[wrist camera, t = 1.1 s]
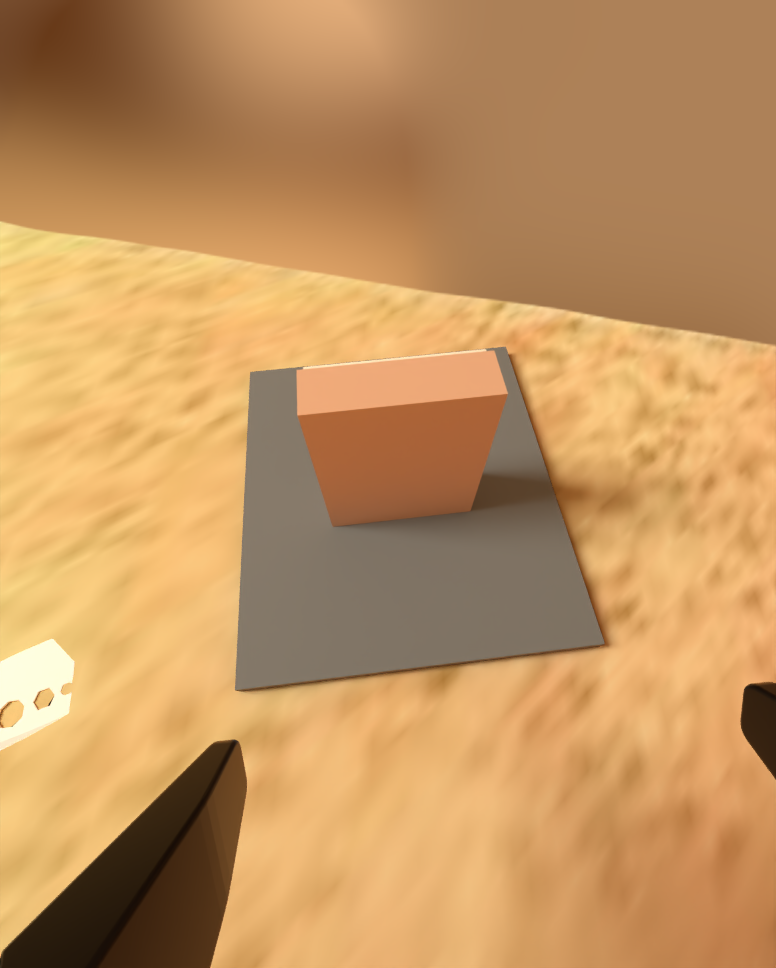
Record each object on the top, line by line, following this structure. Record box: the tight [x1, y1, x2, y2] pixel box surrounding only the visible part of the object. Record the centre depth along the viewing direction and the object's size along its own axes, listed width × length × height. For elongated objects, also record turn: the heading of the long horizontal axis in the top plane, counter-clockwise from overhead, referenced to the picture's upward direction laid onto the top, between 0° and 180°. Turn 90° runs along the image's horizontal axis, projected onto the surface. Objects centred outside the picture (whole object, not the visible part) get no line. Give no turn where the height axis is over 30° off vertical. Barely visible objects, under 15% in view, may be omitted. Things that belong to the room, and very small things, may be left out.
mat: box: [235, 347, 605, 691], centre depth 24 cm, size 18×16×1 cm
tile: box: [297, 349, 508, 527], centre depth 19 cm, size 2×7×9 cm, turn 96°
